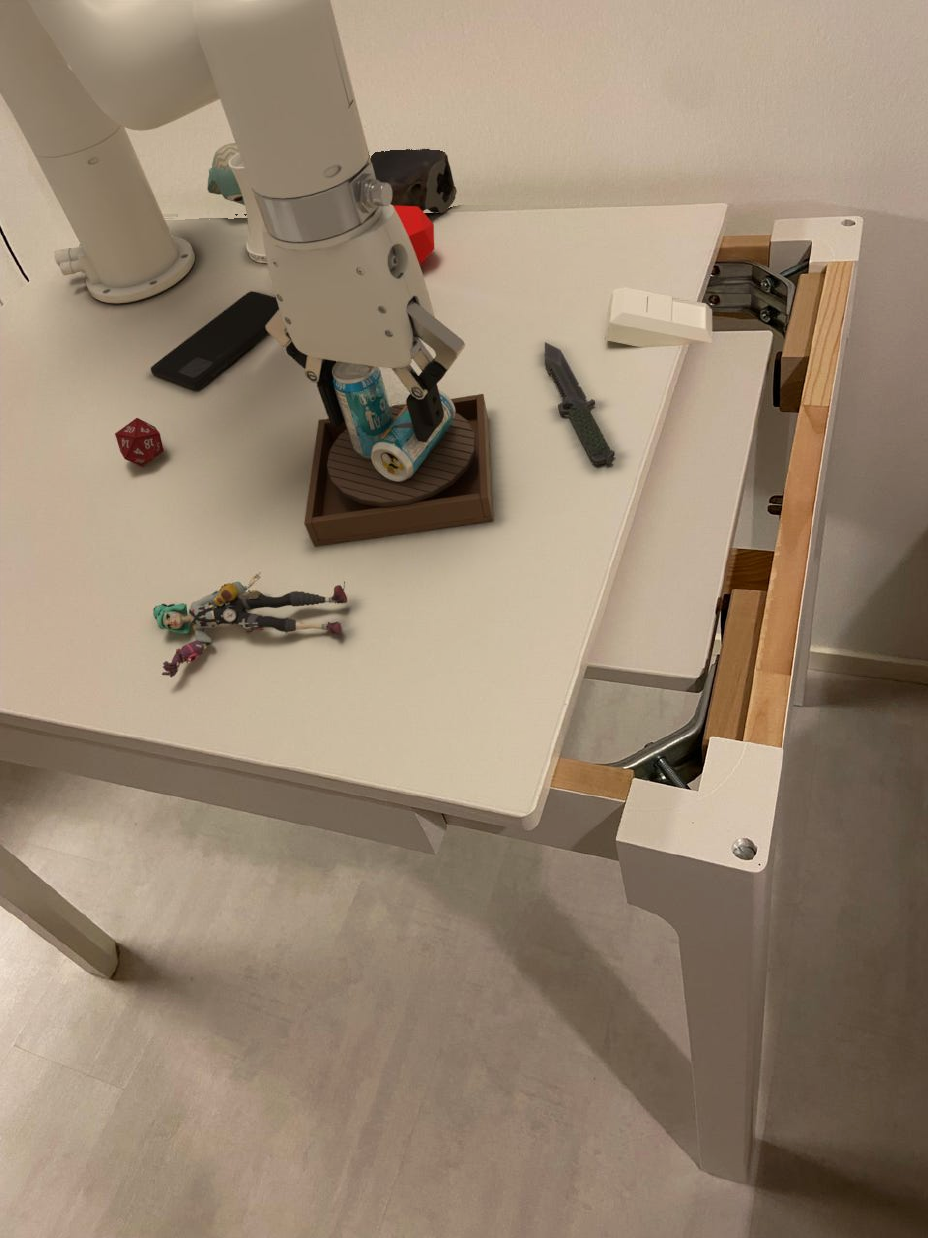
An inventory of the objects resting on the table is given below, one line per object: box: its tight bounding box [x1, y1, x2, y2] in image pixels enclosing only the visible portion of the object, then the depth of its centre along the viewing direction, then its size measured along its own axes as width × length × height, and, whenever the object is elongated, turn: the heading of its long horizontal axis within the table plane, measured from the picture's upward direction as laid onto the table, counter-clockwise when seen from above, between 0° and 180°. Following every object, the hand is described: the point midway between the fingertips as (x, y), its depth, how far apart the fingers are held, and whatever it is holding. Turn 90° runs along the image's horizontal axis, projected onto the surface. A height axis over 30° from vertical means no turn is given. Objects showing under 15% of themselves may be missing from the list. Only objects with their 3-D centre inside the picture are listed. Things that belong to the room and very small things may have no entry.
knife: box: [544, 341, 615, 466], centre depth 79 cm, size 18×1×3 cm
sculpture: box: [370, 148, 458, 214], centre depth 104 cm, size 21×6×12 cm
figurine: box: [152, 571, 348, 679], centre depth 68 cm, size 7×15×4 cm, turn 100°
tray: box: [304, 393, 494, 547], centre depth 76 cm, size 14×13×2 cm
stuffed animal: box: [206, 142, 245, 206], centre depth 113 cm, size 11×7×12 cm
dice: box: [114, 417, 165, 468], centre depth 83 cm, size 4×4×4 cm
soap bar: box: [604, 286, 713, 348], centre depth 83 cm, size 5×9×3 cm, turn 81°
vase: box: [228, 153, 267, 264], centre depth 103 cm, size 8×8×10 cm
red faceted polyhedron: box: [393, 205, 435, 266], centre depth 97 cm, size 7×7×8 cm
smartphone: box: [150, 290, 279, 391], centre depth 95 cm, size 7×1×15 cm
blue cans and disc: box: [327, 361, 476, 507], centre depth 72 cm, size 12×12×8 cm
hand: (386, 421), depth 72 cm, fingers closed on blue cans and disc, 7 cm apart
